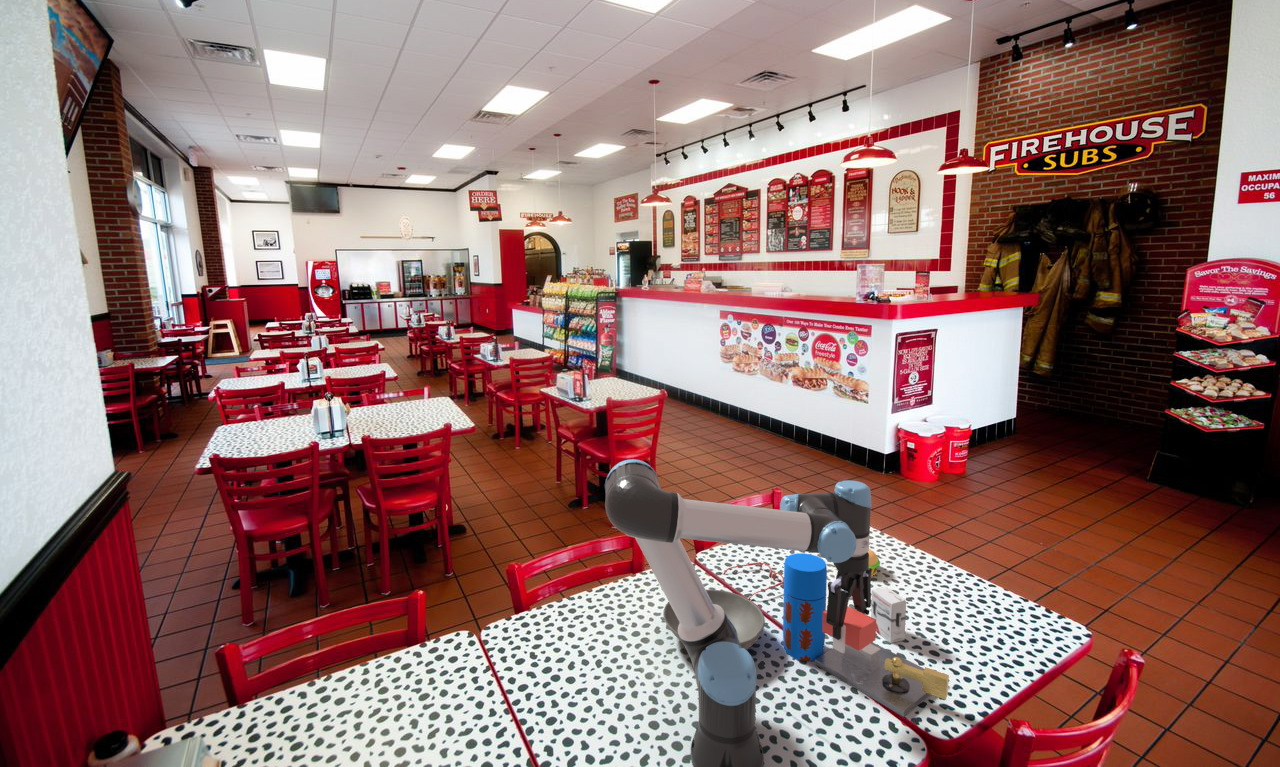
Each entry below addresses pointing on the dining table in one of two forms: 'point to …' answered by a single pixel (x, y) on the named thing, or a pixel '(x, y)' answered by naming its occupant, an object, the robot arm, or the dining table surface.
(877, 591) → the ink box
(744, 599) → the bowl
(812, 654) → the thermos
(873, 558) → the hamburger
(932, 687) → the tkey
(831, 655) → the panel
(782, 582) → the red eyeglasses
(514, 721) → the dining table surface
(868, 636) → the cover
